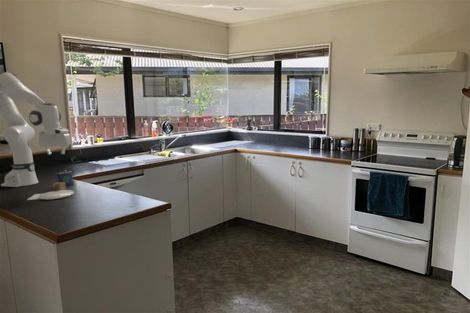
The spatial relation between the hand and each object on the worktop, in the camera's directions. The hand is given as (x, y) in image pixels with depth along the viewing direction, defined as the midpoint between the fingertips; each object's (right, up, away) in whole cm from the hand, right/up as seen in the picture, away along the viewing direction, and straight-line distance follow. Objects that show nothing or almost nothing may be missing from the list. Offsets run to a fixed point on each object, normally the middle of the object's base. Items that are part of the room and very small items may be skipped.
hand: (56, 154), depth 215 cm
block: (+1, -22, +2) cm, 22 cm away
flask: (-1, -21, +15) cm, 25 cm away
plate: (+5, -24, -10) cm, 26 cm away
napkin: (-5, -24, -10) cm, 27 cm away
